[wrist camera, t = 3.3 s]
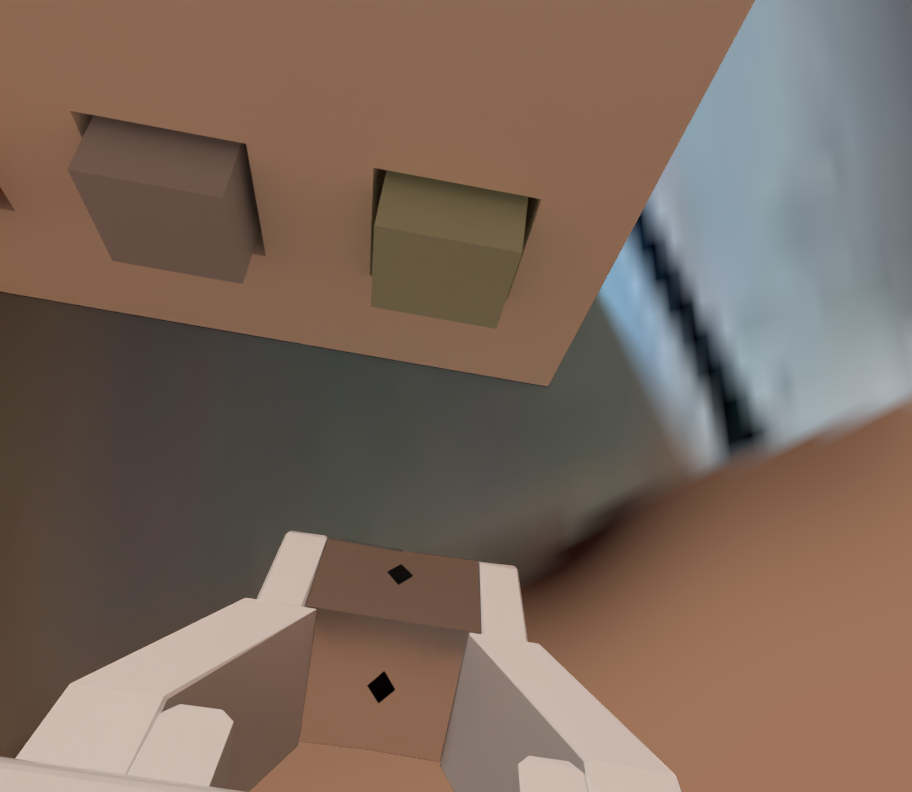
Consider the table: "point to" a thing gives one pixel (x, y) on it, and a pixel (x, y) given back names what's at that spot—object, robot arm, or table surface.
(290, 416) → the table surface
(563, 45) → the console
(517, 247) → the button green
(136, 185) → the button grey
